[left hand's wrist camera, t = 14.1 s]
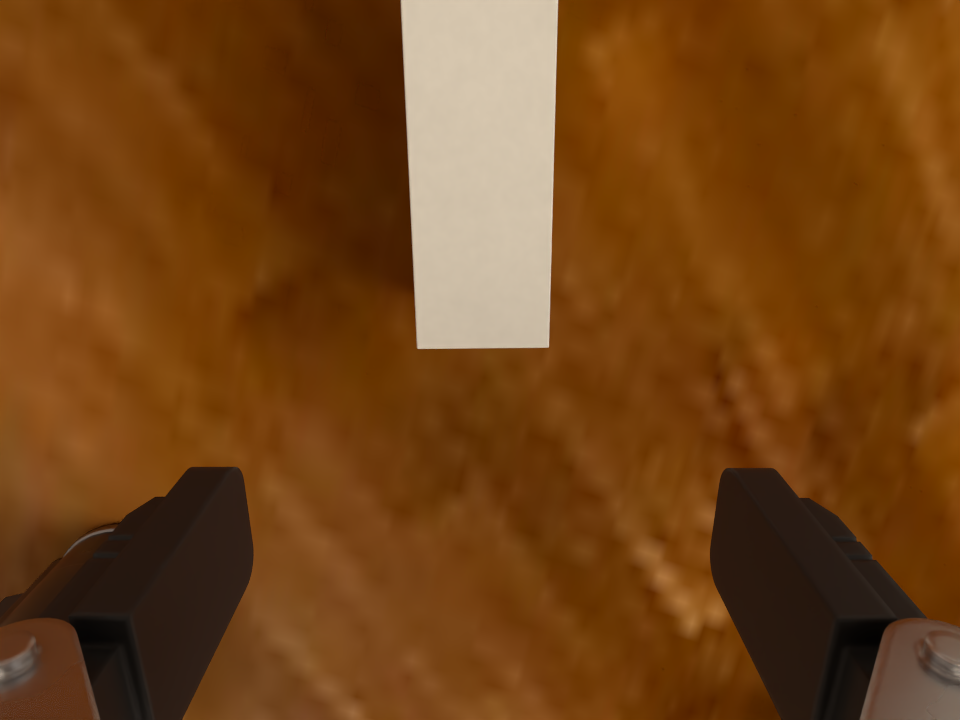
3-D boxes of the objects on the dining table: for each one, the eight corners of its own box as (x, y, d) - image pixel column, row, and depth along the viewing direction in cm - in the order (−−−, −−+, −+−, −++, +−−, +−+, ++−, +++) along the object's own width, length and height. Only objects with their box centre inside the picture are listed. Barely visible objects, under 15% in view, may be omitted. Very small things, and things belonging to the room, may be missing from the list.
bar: (534, 295, 38) (549, 348, 30) (431, 296, 38) (416, 349, 30) (545, -322, 28) (571, -497, 20) (407, -320, 28) (376, -493, 20)
